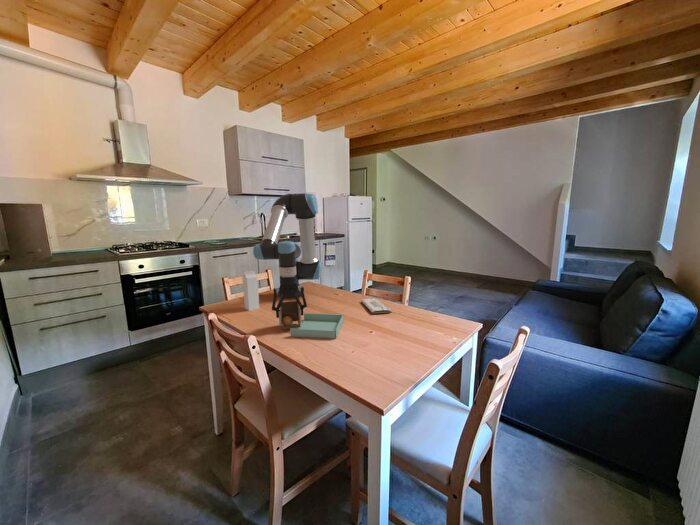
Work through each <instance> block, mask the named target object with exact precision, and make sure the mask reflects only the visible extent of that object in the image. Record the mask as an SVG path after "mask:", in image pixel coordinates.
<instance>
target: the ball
mask: <svg viewBox="0 0 700 525" xmlns="http://www.w3.org/2000/svg"><path fill="white" fill-rule="evenodd" d="M293 323H294V321H293V319H292V318H291V317H290V316H286V317H284V318H283V320H282V326H288V325H293Z"/></svg>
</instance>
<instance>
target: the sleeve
mask: <svg viewBox="0 0 700 525" xmlns="http://www.w3.org/2000/svg"><path fill="white" fill-rule="evenodd" d="M279 310H280V314H281V325H280V328H281V330H285V329H286V330H287V329H291V328H293V329H297V328H298V327H300V324H301V323H300V306H299V304H298V303H297V301H296V300H292V301H283V302H282V304H281V306H280V309H279ZM286 316H290V317H291V318H292V319H293V322H297V323H298V324H292V325H288V326H284V325H283V324H282V320H283V318H284V317H286Z"/></svg>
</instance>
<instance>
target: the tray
mask: <svg viewBox="0 0 700 525" xmlns="http://www.w3.org/2000/svg"><path fill="white" fill-rule="evenodd" d="M344 316H345V315H344V314H337V313H314V312H313V313H310V312H308V313H307V312H303V321H301V323H300V327H297V328H289V329H290V331H289V332H290V337H291V338H311V339H312V338H314V339H331V340H332V339H334V340H336V339H337V338H338V335H339V333H340V331H341V329H342V327H343V324H344V322H345V320H344V318H345V317H344Z"/></svg>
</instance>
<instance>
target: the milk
mask: <svg viewBox="0 0 700 525" xmlns="http://www.w3.org/2000/svg"><path fill="white" fill-rule="evenodd" d="M258 280H259V279H258V275H257V274H256V273H255V269H253V270H247V271H244V273H243V275H242V289H243V302H244V309H245V310H246V311H249V312H251V311H256V310H260V296H259V283H258V282H259V281H258Z"/></svg>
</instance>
